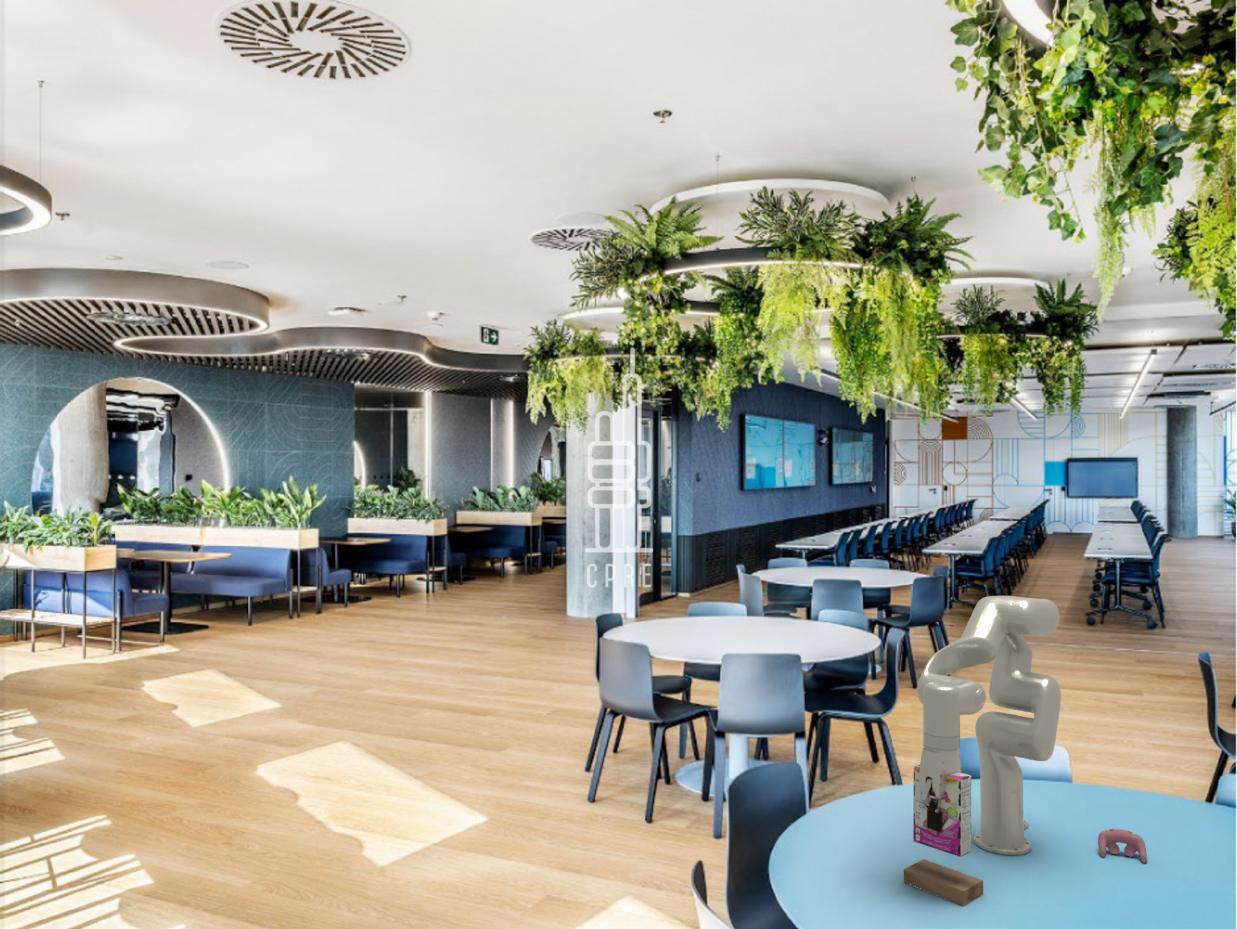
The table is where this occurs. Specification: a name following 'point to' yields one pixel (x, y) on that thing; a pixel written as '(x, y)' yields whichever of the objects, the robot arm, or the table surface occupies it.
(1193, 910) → the table surface
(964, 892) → the walnut base
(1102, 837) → the video game controller
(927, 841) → the candy bar box
